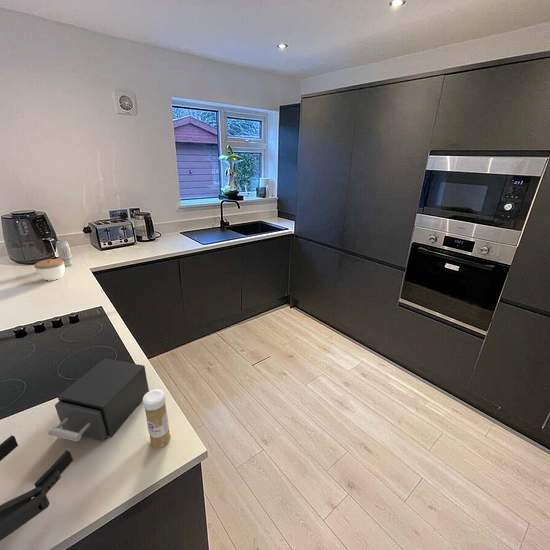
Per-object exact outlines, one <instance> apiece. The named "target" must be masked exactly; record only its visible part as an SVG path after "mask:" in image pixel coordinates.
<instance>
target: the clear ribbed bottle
mask: <svg viewBox="0 0 550 550" xmlns="http://www.w3.org/2000/svg"><path fill="white" fill-rule="evenodd" d="M55 247H56V250H57V254H58V259H61V260H63V261H64V265H65V266H67V267H71V266H73V264H74V261H73V256H72V252H71V249H70V245H69V243H68V242H67V240H66V239H65V240H64V239H61V240H57V241H56V243H55ZM70 265H71V266H70Z"/></svg>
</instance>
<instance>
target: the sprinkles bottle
mask: <svg viewBox="0 0 550 550" xmlns="http://www.w3.org/2000/svg"><path fill="white" fill-rule="evenodd" d="M142 405H143V408H144V411H145V417H146V423H147V430H148V435H149V440H150V446H152V448H155V449H161V448H163V447H165V446H166V445H167V444H168V443H169V442H170V440H171V439H172V438H171V435H172V434H171V432H170V424H169V418H168V410H167V406H166V394H165V392H164V391H163V390H162V389H158V388H157V389H151V390H149V392H148V393H146V394H145V395H144V397H143V401H142Z"/></svg>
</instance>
